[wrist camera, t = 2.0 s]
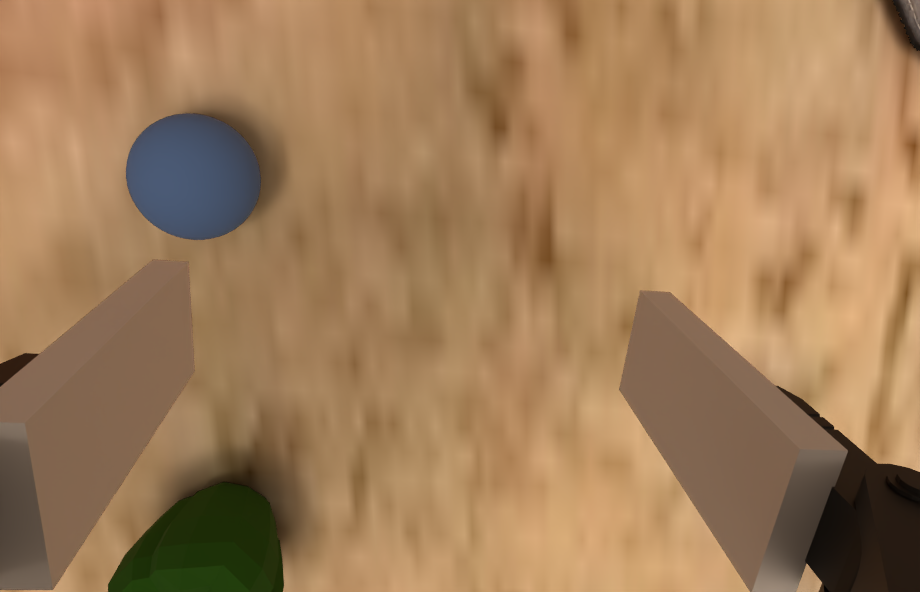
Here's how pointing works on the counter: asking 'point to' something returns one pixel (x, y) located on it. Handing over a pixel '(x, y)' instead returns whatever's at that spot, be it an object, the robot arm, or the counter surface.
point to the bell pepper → (207, 547)
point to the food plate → (910, 19)
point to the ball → (193, 176)
